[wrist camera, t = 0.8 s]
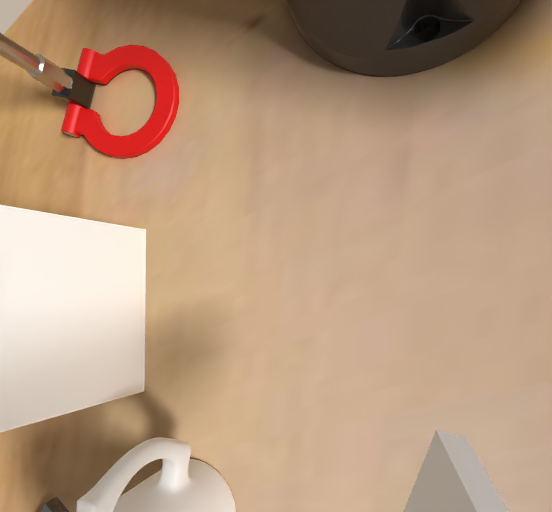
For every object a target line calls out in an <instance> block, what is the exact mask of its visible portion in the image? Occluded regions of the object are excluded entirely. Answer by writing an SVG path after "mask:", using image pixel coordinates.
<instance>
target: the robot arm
mask: <svg viewBox="0 0 552 512" xmlns="http://www.w3.org/2000/svg"><path fill="white" fill-rule="evenodd" d="M285 2H286V4H287V6H288V9H289V11H290V13H291V15H292V18H293V20H294V22H295V24H296V27H297V28H298V30H299V32H300V34H301V35H302V36H303V38H304V39H305V41H306V42H307V43H308V44H309V45H310V46H311V47H312V48H313V49H314V50H315V51H316V52H317V53H318V54H319V55H321V56H322V57H323V58H325V59H326V60H328V61H330V62H331V63H333V64H335V65H337V66H339V67H342V68H344V69H347V70H350V71H354V72H357V73H362V74H368V75H378V76H394V75H404V74H410V73H415V72H420V71H424V70H427V69H430V68H434V67H436V66H439V65H442V64H444V63H446V62H449V61H451V60H453V59H455V58H457V57H459V56H461V55H462V54H464V53H466V52H467V51H469V50H471V49H472V48H474V47H475V46H477V45H478V44H480V43H481V42H482V41H484V40H485V39H486V38H487V37H489V36H490V35H491V34H492V33H493V32H494V31H495V30H496V29H498V28H499V27H500V26H501V25H502V24H503V23H504V21H505V20H506V19H507V18H508V17H509V16H510V15H511V14H512V12H513V11H514V10H515V9H516V7H517V6H518V4H519V3H520V2H521V0H285ZM404 512H510V511H509V509H508V507H507V506H506V504H505V502H504V501H503V499H502V497H501V495H500V494H499V492H498V490H497V489H496V487H495V485H494V484H493V482H492V480H491V478H490V477H489V475H488V473H487V472H486V470H485V468H484V467H483V465H482V463H481V461H480V460H479V458H478V456H477V455H476V453H475V451H474V450H473V448H472V446H471V444H470V443H469V441H468V439H467V438H466V437H463V436H459V435H455V434H451V433H446V432H442V431H438V430H436V432H435V434H434V437H433V439H432V442H431V444H430V447H429V449H428V452H427V454H426V457H425V459H424V462H423V464H422V467H421V469H420V472H419V474H418V477H417V479H416V482H415V484H414V487H413V489H412V492H411V494H410V497H409V499H408V502H407V504H406V507H405V509H404Z"/></svg>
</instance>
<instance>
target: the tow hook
mask: <svg viewBox="0 0 552 512" xmlns="http://www.w3.org/2000/svg"><path fill="white" fill-rule="evenodd" d="M0 55H1V56H2V57H4V58H6V59H8V60H9V61H11V62H13V63H15V64H16V65H18V66H20V67H21V68H23V69H25V70H26V71H27V72H28V73H29V74H30V76H32V77H33V78H34V79H36V80H38V81H40V82H41V83H43V84H45V85H47V86H48V87H50V88H52V89H53V92H52V95H53V96H55V97H57V98H59V99H61V100H62V101H64V102H66V103H68V106H67V110H66V114H65V118H64V121H63V125H62V129H61V131H62V132H63V133H65V134H67V135H70V136H73V137H80V136H81V135H84V136H85V138H86V140H87V141H88V142H89V143H90V144H91V145H92V146H93V147H94V148H95V149H97V150H99V151H101V152H103V153H105V154H107V155H109V156H111V157H117V158H122V159H124V158H132V157H137V156H140V155H142V154H144V153H147V152H149V151H150V150H151V149H153V148H154V147H155V146H156V145H158V144H159V143H160V142H161V141H162V139H163V138H164V137H165V135H166V134H167V133H168V132H169V130H170V128H171V126H172V124H173V122H174V120H175V117H176V113H177V109H178V105H179V86H178V83H177V79H176V75H175V73H174V72H173V70H172V68H171V67H170V65H169V63H168V62H167V61H166V60H164V59H163V58H162V57H161V56H160V55H159V54H158V53H157V52H155V51H154V50H152V49H149V48H147V47H144V46H138V45H128V46H123V47H118V48H116V49H114V50H112V51H110V52H108V53H106V54H105V55H102V54H99V53H97V52H95V51H93V50H91V49H87V48H83V50H82V54H81V57H80V61H79V65H78V69H77V71H75V70H71V69H65V68H60V67H58V66H57V65H55V64H54V63H52V62H51V61H49V60H48V59H46V58H45V57H43V56H41V55H40V54H36V55H34V54H33V53H31V52H30V51H28V50H26V49H25V48H23V47H22V46H20V45H19V44H17V43H15V42H14V41H12V40H11V39H9V38H8V37H6V36H4V35H3V34H1V33H0ZM133 68H134V69H142V70H144V71H146V72H148V73H149V74H150V75H151V77H152V78H153V80H154V82H155V86H156V90H157V100H156V105H155V109H154V111H153V113H152V115H151V118H150V119H149V120H148V122H147V123H146V124H145V125H144V126H143V127H142V128H141V129H140V130H138V131H137V132H135V133H133V134H130V135H127V136H114V135H111V134H110V133H109V132H108V131H107V130H106V129H105V128H104V126H103V124H102V122H101V119H100V115H99V114H98V113H97V112H95V111H93V110H91V109H90V105H91V102H92V98H93V94H94V90H95V87H96V86H95V83H100V84H107V83H108V82H109V81H110V80H111V79H112V78H113V77H114V76H116V75H117V74H118V73H120V72H122V71H124V70H128V69H133Z"/></svg>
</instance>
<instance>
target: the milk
mask: <svg viewBox="0 0 552 512" xmlns="http://www.w3.org/2000/svg"><path fill="white" fill-rule="evenodd" d="M145 274H146V229H140V228H134V227H128V226H122V225H116V224H110V223H104V222H99V221H93V220H87V219H81V218H75V217H69V216H63V215H57V214H51V213H46V212H40V211H34V210H28V209H22V208H16V207H10V206H4V205H0V433H1V432H4V431H8V430H11V429H15V428H18V427H22V426H25V425H29V424H32V423H36V422H39V421H43V420H46V419H50V418H53V417H57V416H60V415H64V414H67V413H71V412H74V411H78V410H81V409H85V408H88V407H91V406H95V405H98V404H102V403H105V402H109V401H112V400H116V399H119V398H123V397H126V396H130V395H133V394H137V393H140V392H144V390H145Z"/></svg>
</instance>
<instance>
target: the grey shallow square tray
mask: <svg viewBox="0 0 552 512" xmlns="http://www.w3.org/2000/svg"><path fill="white" fill-rule="evenodd" d="M40 512H68V511H67V509H66V508H65V507H64V506H63V505H62V503H61V502H60V501H59V500H58V499H57V497H56V498H54V499H53V500H51V501H49V502H47V503H46V504H45V505H44V506H43V508H42V509H41V511H40Z"/></svg>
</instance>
